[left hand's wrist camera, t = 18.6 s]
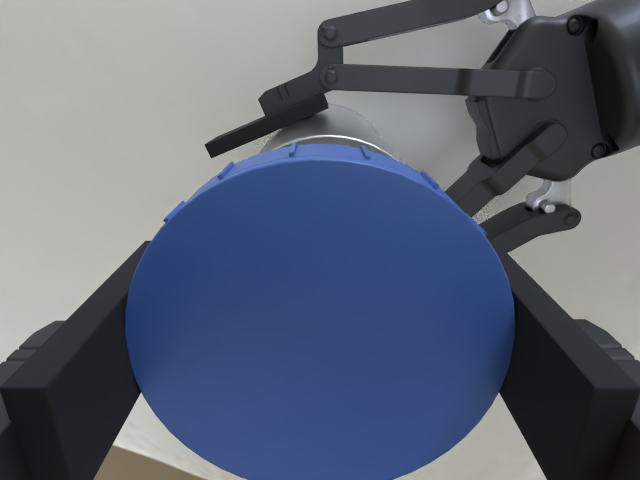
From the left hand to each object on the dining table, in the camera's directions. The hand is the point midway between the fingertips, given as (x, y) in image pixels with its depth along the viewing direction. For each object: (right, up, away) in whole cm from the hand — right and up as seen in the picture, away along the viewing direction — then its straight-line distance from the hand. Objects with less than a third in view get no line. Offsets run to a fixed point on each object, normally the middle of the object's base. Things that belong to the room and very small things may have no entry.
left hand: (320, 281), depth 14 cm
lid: (0, -1, -3) cm, 3 cm away
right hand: (-4, +2, +12) cm, 13 cm away
